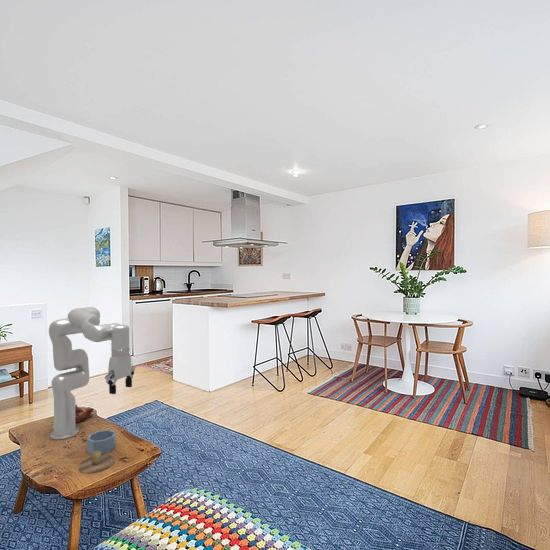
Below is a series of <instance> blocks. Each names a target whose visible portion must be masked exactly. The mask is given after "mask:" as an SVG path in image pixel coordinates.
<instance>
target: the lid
mask: <svg viewBox="0 0 550 550" xmlns="http://www.w3.org/2000/svg"><path fill="white" fill-rule="evenodd" d="M114 463H115V457H114V456H113V455H111V454H101V451H95V452H93V453H92V454H91V456H90V457H87V458H86V459H84V460H82V462H80V463H79V465H78V467H77V468H78V471H79V473H81V474H86V475H90V474H91V475H92V474H97V473H101V472H102V471H106V470H108V469H109V468H110V467H112V466H113V465H114Z"/></svg>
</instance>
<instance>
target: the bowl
mask: <svg viewBox="0 0 550 550" xmlns="http://www.w3.org/2000/svg"><path fill="white" fill-rule="evenodd" d="M116 437H117V432H116V431H114V430H111V429H105V430H97V431H95V432H94V433H91V434H89V435H88V437H87V440H86V446H87V447H86V452H87V453H88V454H91V455H92V453H93V452H95V451H101V455H105V454H107V453H109V452H111V451H112V450H115V448H116V445H117V441H116V440H117V439H116Z"/></svg>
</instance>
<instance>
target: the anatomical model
mask: <svg viewBox="0 0 550 550" xmlns="http://www.w3.org/2000/svg"><path fill="white" fill-rule="evenodd" d="M93 412H94V408H88V407H86V406H78V405H77V404H75V423H76V424H77V423H80V422H81V421H83V420H84V419H86V417H88V416H90V415H91V414H93Z"/></svg>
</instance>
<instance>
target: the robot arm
mask: <svg viewBox="0 0 550 550" xmlns="http://www.w3.org/2000/svg"><path fill="white" fill-rule="evenodd" d="M100 318H101V313H100V310H99V309H98V308H96V307H93V306H89V307H87V306H85V307H77V308H74V309H72V310H70V311H69V312H68V314H67V318H61V319H57V320H53V321H52V322H51V323H50V324H49V327H48V336H49V339H50V342H51V344H52V356H53V357H52V358H53V366H54V369H55V370H56V371H59V372H61V371H65V372H63V373H59V374H57V375H55V376H54V377H52V379H51V387H52V394H53V424H52V428H53V431H52V432H51V433H50V436H49V437H50V438H51V440H52V439H53V440H57V441H58V440H65V439H69V438H72V437H73V436H74V437H75V436H76V435H77V434H78V433H79V432H80V428H79V427H77V426H76V422H75V405H76V397H75V395H74V394H73V393H72V392H71V391H73V390H76V389H79V388H83V387H85V386H88V384H89V382H90V365H89V356H88V353H87V352H86V350H84V349H82V348H77V349H73V345H72V344H73V343H72V340H71V339H70V337H68V336H69V335H76V334H82V335H83V337H84V338H85V339H87V340H89V341H91V342H93V343H101V342H107V341H111V343H110V346H111V348H110V349H111V350H110V351H111V354H110V355H111V356H110V357H109V361H108V367H107V368H108V371H107V372H108V373H107V374H106V375H105V376H104V380H105V383H107V385H108V386H109V388H108V392H109V395H116V393H117V385H116V383H117V381H118V380H121V379H123V378H125V380H124V381H125V387H126V388H132V387H133V378H134V374H135V370H136V367H135V366H133V365H132V364H133V363H132V356H131V353H130V350H131V348H130V326H129V325H127V324H121V323H118V322H116V323H115V322H113V323H106V324H100V323H101V319H100ZM71 369H75V370H72V371H67V370H71ZM66 371H67V372H66Z"/></svg>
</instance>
